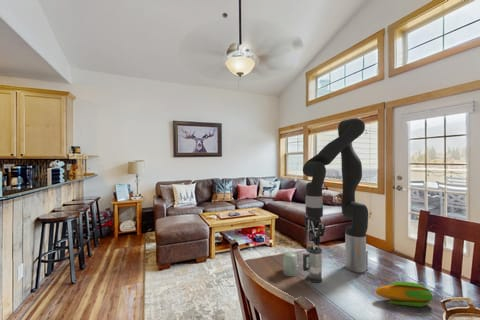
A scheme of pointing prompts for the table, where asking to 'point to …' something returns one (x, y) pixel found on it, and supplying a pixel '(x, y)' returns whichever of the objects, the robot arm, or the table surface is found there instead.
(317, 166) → the robot arm
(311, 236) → the plunger
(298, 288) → the table surface
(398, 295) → the corn
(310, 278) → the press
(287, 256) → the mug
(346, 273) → the table surface
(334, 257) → the table surface
